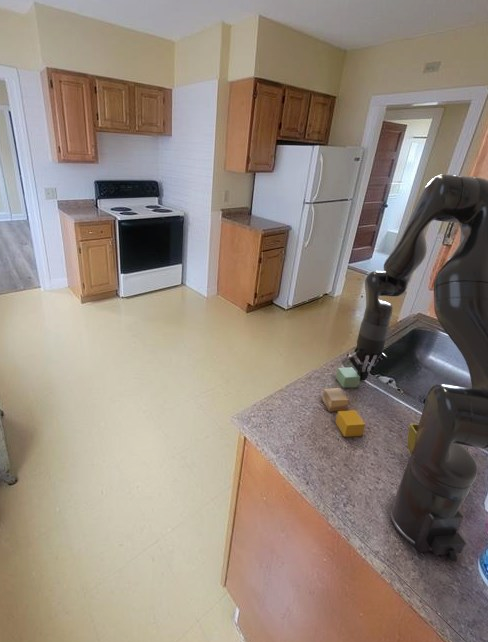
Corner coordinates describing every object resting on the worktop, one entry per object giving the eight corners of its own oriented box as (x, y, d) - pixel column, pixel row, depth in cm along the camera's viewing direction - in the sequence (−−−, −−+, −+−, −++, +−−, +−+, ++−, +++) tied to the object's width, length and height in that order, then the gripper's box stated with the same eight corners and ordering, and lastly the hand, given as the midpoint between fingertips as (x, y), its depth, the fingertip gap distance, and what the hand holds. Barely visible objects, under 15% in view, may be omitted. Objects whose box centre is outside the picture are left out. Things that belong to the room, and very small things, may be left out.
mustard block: (362, 435, 85) (365, 424, 83) (344, 436, 84) (347, 425, 83) (352, 421, 90) (355, 410, 88) (335, 422, 89) (338, 411, 88)
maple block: (345, 410, 93) (348, 399, 92) (329, 411, 93) (331, 400, 91) (337, 398, 98) (340, 388, 96) (321, 399, 97) (324, 388, 96)
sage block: (357, 387, 103) (360, 376, 101) (342, 387, 102) (345, 377, 101) (349, 377, 108) (352, 367, 106) (335, 377, 107) (337, 367, 106)
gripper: (358, 340, 94) (347, 387, 101) (401, 339, 95) (387, 386, 102) (346, 327, 101) (336, 372, 108) (385, 326, 102) (373, 371, 109)
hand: (361, 379), depth 105 cm, fingers closed
